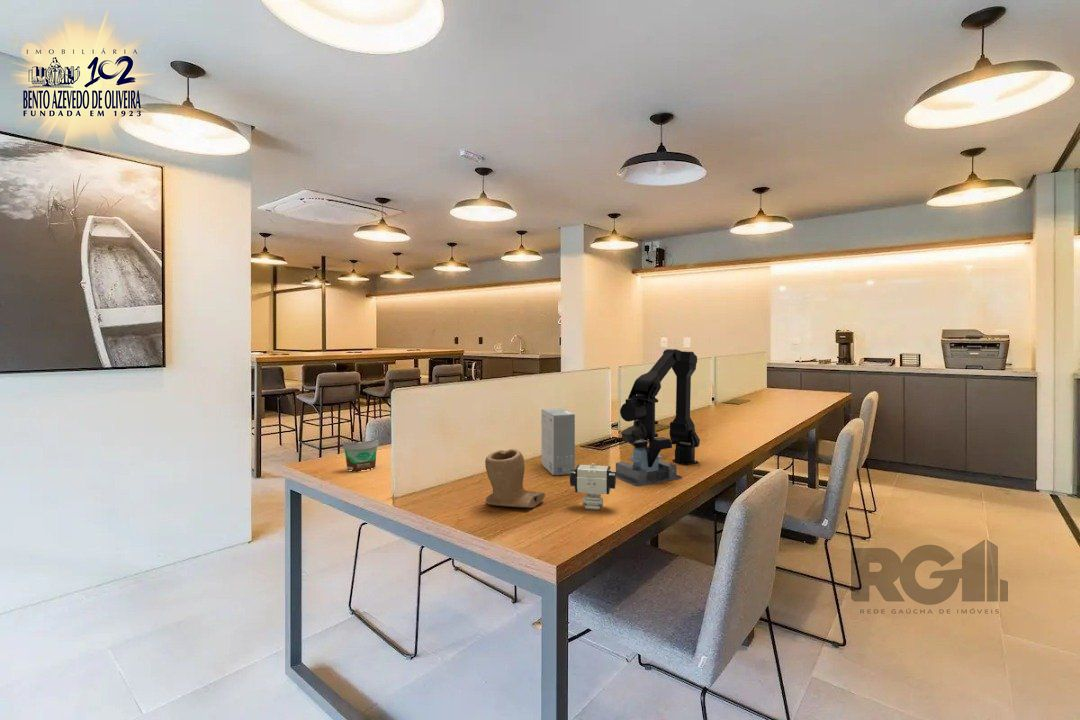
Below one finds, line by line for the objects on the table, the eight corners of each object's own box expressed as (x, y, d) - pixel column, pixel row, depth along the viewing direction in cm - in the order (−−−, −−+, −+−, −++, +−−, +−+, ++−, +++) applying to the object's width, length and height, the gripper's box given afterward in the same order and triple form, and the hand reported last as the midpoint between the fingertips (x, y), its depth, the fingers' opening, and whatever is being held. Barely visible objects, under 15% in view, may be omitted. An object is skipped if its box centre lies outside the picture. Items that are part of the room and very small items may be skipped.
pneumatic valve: (572, 503, 136) (572, 460, 135) (615, 506, 133) (615, 462, 133) (569, 510, 131) (569, 465, 130) (614, 513, 128) (614, 467, 127)
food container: (350, 475, 165) (349, 445, 164) (343, 471, 169) (342, 442, 169) (385, 468, 173) (384, 439, 172) (377, 465, 177) (377, 437, 177)
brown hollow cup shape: (477, 509, 132) (476, 453, 131) (495, 496, 143) (495, 444, 142) (531, 516, 127) (530, 458, 126) (545, 501, 138) (545, 447, 137)
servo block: (635, 473, 157) (635, 451, 156) (627, 470, 160) (628, 449, 160) (663, 469, 162) (663, 448, 161) (655, 466, 165) (655, 445, 165)
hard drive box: (575, 474, 164) (575, 414, 163) (553, 476, 162) (553, 415, 161) (561, 462, 179) (561, 407, 178) (540, 464, 177) (540, 408, 176)
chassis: (653, 468, 171) (653, 456, 171) (682, 478, 159) (682, 465, 158) (610, 474, 163) (610, 462, 163) (636, 486, 151) (636, 473, 150)
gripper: (608, 415, 165) (608, 461, 166) (644, 424, 148) (644, 476, 149) (635, 412, 170) (635, 458, 171) (673, 421, 153) (673, 471, 154)
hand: (645, 465), depth 161 cm, fingers closed on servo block, 4 cm apart
